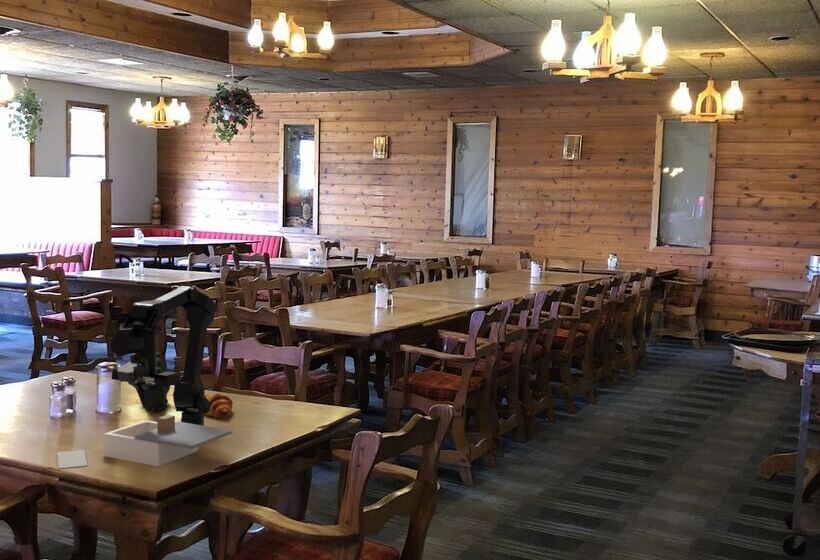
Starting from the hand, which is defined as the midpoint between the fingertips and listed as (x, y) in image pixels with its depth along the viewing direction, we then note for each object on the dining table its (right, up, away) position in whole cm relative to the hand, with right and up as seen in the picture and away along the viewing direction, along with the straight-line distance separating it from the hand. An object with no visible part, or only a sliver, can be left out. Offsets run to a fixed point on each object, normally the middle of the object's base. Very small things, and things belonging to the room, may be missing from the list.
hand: (145, 407), depth 230 cm
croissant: (+9, -9, +45) cm, 47 cm away
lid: (+12, -7, -5) cm, 14 cm away
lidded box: (+2, -12, 0) cm, 12 cm away
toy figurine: (-12, -7, +49) cm, 51 cm away
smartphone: (-17, -13, -7) cm, 22 cm away
